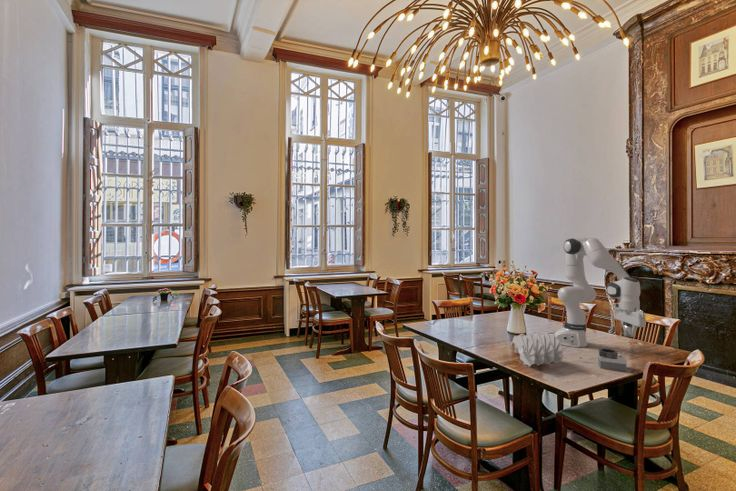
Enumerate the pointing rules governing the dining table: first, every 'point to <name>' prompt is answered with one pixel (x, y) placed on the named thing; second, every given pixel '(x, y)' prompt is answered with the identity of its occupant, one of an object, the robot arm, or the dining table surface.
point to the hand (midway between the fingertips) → (629, 331)
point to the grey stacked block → (611, 360)
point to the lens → (628, 330)
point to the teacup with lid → (516, 346)
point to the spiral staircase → (539, 348)
